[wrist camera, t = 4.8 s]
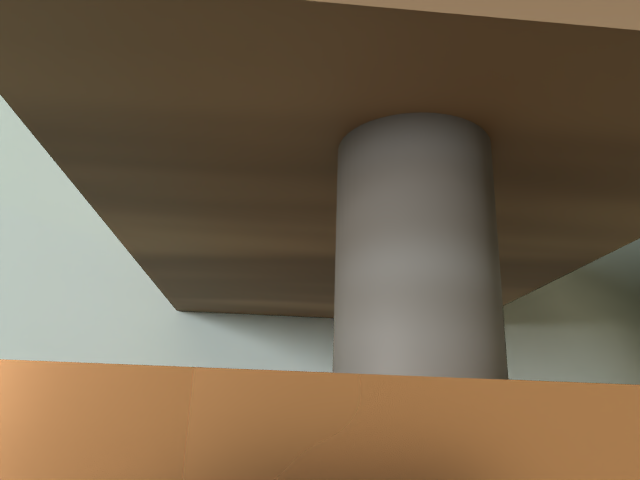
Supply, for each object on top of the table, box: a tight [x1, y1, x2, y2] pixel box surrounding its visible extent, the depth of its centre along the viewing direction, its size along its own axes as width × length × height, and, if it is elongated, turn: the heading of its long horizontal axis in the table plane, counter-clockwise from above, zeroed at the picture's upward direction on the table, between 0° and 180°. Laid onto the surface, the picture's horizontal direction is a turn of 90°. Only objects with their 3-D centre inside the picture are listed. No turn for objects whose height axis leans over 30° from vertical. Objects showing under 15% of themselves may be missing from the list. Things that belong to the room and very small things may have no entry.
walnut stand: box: [0, 0, 640, 380], centre depth 9 cm, size 9×8×12 cm
